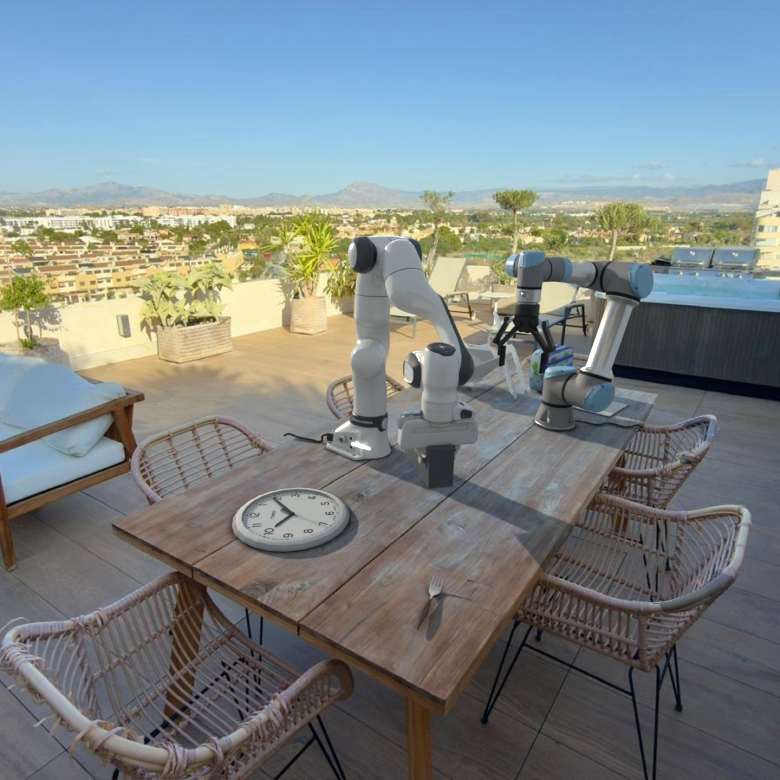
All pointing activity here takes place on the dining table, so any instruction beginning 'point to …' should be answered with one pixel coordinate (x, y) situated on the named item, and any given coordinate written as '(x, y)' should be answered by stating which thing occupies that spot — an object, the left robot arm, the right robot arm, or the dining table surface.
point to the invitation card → (609, 409)
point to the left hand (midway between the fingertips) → (436, 461)
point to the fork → (433, 591)
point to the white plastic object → (495, 362)
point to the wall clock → (290, 519)
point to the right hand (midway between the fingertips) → (521, 369)
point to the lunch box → (548, 364)
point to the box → (435, 465)
